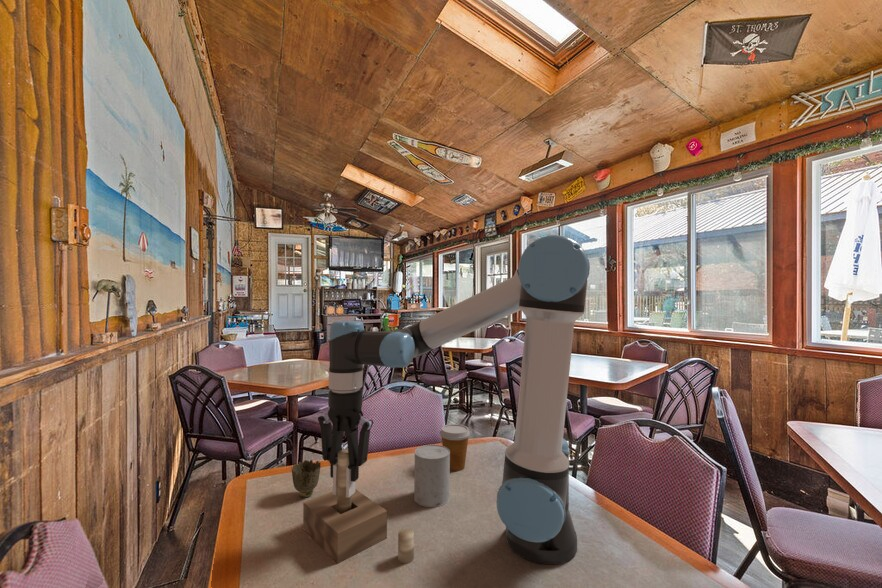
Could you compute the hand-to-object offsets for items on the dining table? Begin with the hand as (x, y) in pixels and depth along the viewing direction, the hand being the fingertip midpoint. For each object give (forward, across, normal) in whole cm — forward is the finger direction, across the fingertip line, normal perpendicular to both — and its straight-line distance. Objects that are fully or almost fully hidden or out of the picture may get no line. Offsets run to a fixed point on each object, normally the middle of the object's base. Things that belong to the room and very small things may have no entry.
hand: (344, 492), depth 87 cm
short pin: (+9, -17, +3) cm, 19 cm away
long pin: (+5, 0, 0) cm, 5 cm away
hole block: (+9, 0, 0) cm, 9 cm away
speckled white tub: (+9, -13, -21) cm, 27 cm away
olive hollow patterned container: (+9, +19, -11) cm, 24 cm away
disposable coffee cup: (+9, -14, -42) cm, 45 cm away
